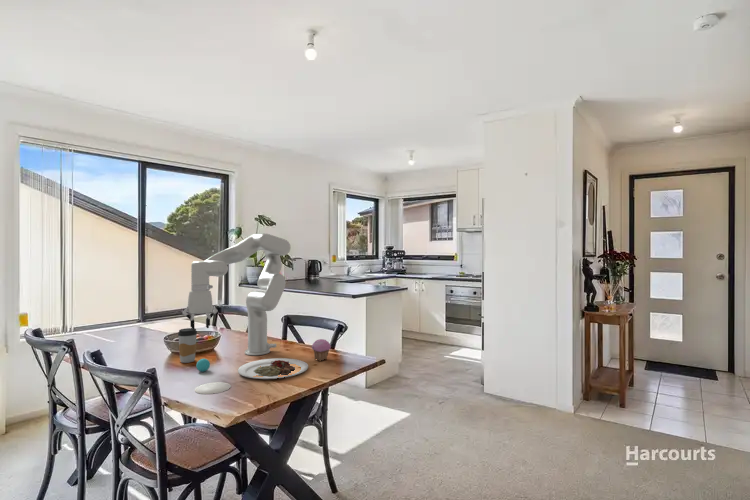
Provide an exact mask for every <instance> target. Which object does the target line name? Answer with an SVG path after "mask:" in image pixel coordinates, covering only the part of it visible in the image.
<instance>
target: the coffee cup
mask: <svg viewBox="0 0 750 500" xmlns="http://www.w3.org/2000/svg"><path fill="white" fill-rule="evenodd" d="M197 334H198V331H197V329H196V328H195V327H194V329H192V327H187V328H181V329H179V330H178V333H177V335H178V336H177V337H178V352H179V353H178V354H179V361H180V363H182V364H186V363H187V364H188V363H193V362H195V360H196V351H197Z"/></svg>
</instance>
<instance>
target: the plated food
mask: <svg viewBox="0 0 750 500" xmlns="http://www.w3.org/2000/svg"><path fill="white" fill-rule="evenodd" d="M289 363H290V364H296V365H298V366H300V367H301V370H300V371H299V372H297V373H295V374H292V375H288V374H289V373H291V371H294V370H295V367H293V366H290V364H289ZM260 366H261V367H260ZM308 369H309V364H308V363H307V362H305V361H303V360H300V359H297V358H286V357H285V358H284V357H283V358H282V357H278V358H264V359H258V360H253V361H250V362H247V363H244V364H242V365H240V366H239V368H238V369H237V373H238V374H239V375H240V376H242V377H245V378H249V379H257V380H278V379H277V378H279V379H283V378H284V377H285V378H289V377H293V376H296V375H300V374H301V373H302V374H303V373H304V372H306V371H307V370H308ZM280 374H281V375H288V376H283V377H278V375H280ZM256 375H258V376H263V377H253V376H256Z"/></svg>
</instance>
